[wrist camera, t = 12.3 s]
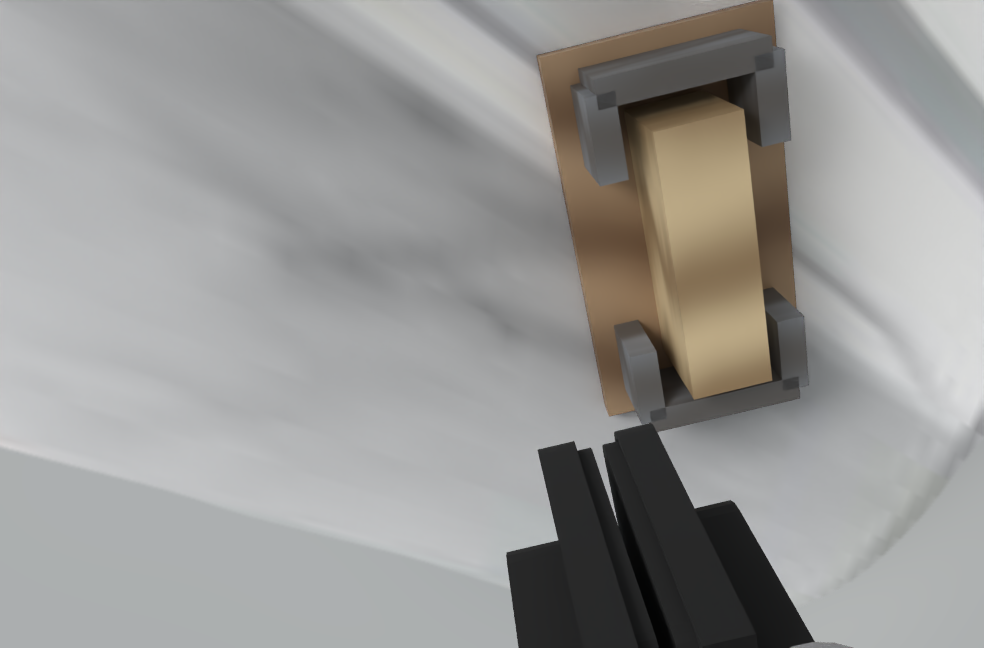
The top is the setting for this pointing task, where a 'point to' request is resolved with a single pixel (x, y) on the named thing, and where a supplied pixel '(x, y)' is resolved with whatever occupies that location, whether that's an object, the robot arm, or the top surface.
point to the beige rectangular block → (701, 239)
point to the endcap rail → (616, 211)
